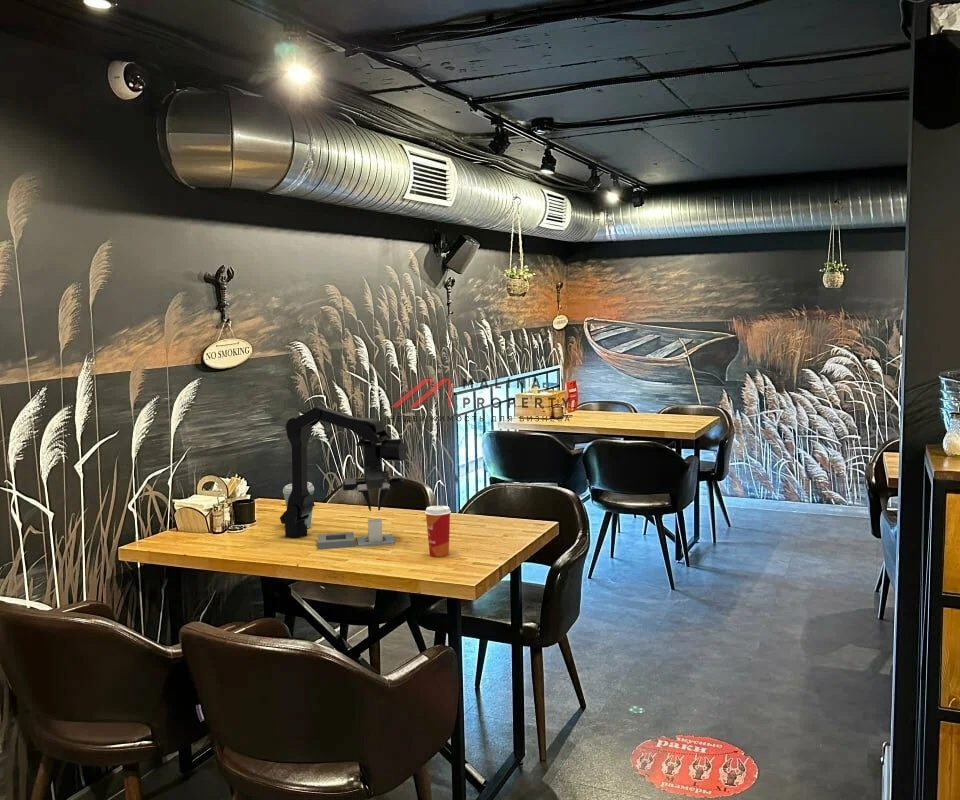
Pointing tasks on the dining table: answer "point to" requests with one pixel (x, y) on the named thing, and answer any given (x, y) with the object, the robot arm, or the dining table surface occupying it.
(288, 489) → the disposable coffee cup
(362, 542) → the low dock
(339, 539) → the raised dock
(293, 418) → the robot arm
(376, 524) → the plug
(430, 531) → the paper cup
